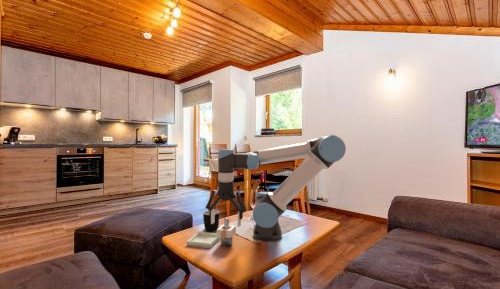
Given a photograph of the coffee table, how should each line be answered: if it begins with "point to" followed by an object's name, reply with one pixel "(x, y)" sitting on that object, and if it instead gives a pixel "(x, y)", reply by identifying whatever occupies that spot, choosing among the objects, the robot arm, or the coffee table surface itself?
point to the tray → (203, 240)
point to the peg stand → (227, 241)
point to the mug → (207, 221)
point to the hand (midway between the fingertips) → (225, 224)
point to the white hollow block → (226, 231)
